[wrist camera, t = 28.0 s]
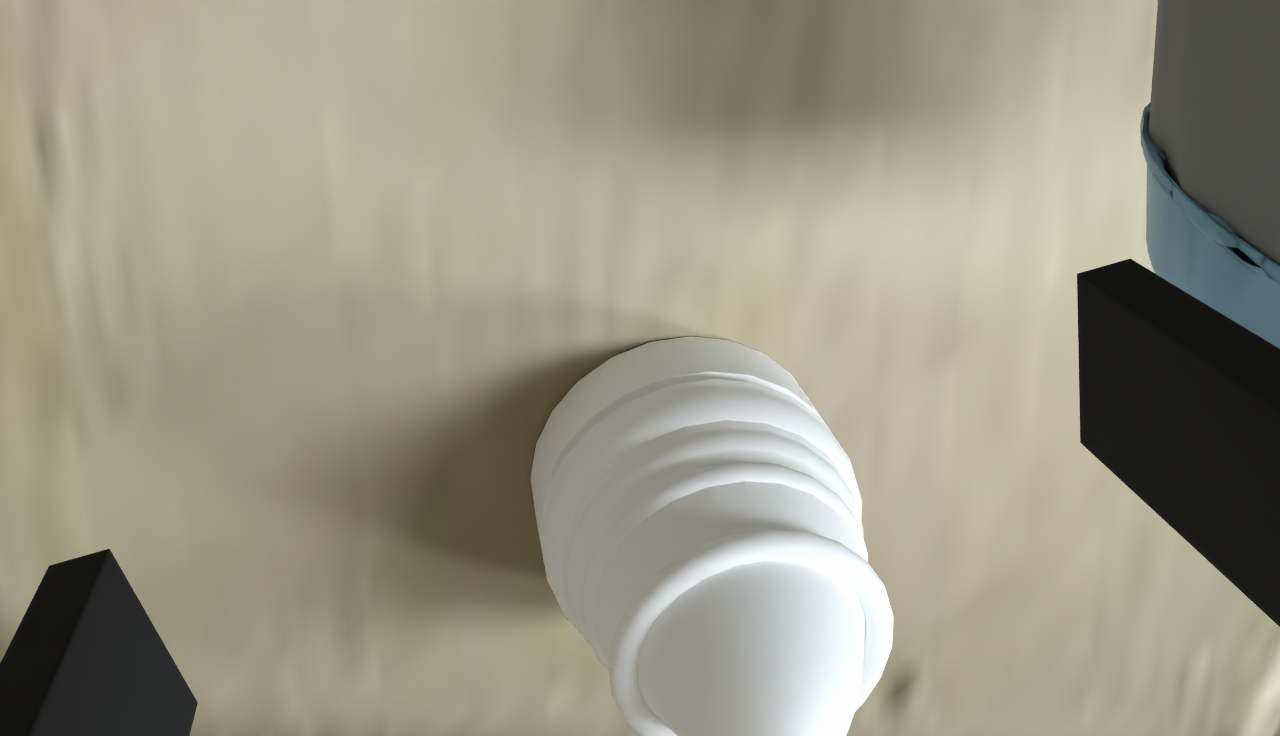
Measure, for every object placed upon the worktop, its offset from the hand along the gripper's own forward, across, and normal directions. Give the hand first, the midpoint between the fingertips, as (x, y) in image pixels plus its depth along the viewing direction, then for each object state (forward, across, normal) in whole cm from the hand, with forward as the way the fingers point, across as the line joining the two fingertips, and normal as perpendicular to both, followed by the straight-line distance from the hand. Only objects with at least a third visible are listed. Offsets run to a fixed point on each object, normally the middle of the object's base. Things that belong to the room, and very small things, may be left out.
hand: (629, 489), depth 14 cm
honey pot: (+27, -3, +18) cm, 33 cm away
